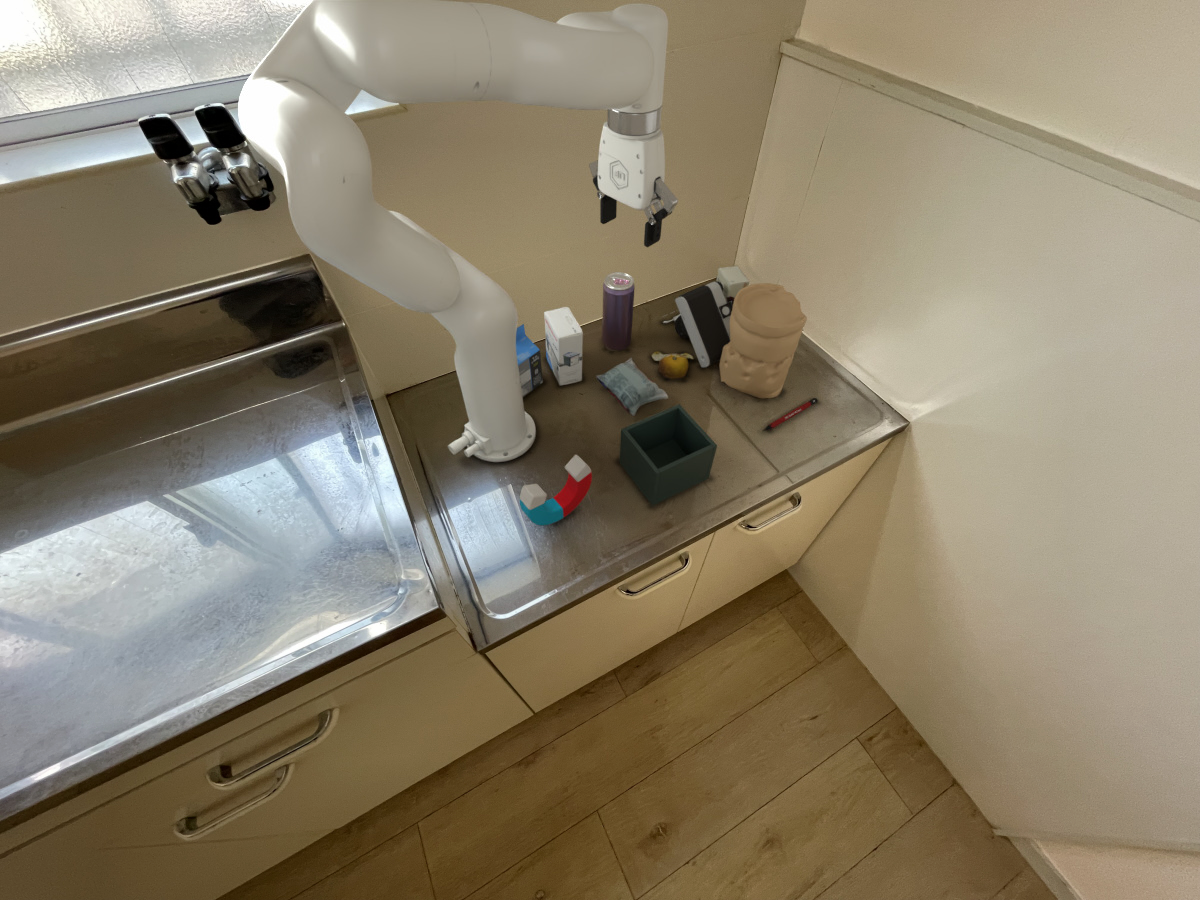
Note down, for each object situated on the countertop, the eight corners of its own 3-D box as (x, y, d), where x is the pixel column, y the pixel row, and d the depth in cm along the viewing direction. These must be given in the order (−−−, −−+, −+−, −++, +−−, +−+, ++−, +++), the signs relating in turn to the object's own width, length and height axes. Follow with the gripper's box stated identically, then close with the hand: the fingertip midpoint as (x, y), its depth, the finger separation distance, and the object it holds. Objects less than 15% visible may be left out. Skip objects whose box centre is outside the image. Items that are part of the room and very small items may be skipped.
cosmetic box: (738, 332, 120) (751, 282, 110) (719, 335, 119) (730, 285, 109) (727, 314, 124) (738, 264, 114) (708, 317, 123) (718, 267, 113)
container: (762, 354, 115) (785, 277, 101) (794, 396, 108) (823, 319, 94) (705, 367, 113) (721, 290, 99) (734, 411, 105) (756, 334, 91)
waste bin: (652, 506, 92) (656, 473, 85) (619, 462, 97) (620, 428, 91) (708, 478, 95) (717, 445, 89) (673, 437, 101) (679, 403, 94)
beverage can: (628, 354, 115) (632, 291, 103) (599, 350, 116) (600, 287, 104) (633, 336, 119) (637, 273, 107) (605, 332, 120) (606, 269, 108)
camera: (684, 370, 119) (721, 352, 122) (713, 365, 109) (752, 345, 112) (658, 304, 116) (697, 287, 119) (685, 293, 106) (726, 274, 109)
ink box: (545, 359, 114) (542, 310, 105) (569, 353, 115) (567, 304, 106) (560, 387, 109) (557, 338, 100) (584, 380, 110) (583, 332, 101)
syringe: (660, 326, 122) (666, 326, 120) (658, 317, 121) (664, 317, 119) (694, 311, 126) (701, 311, 124) (693, 302, 125) (699, 302, 123)
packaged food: (631, 368, 112) (632, 349, 109) (667, 404, 106) (670, 385, 102) (594, 385, 109) (594, 366, 106) (629, 423, 103) (631, 404, 99)
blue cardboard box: (510, 407, 105) (502, 357, 96) (496, 398, 107) (486, 347, 97) (543, 382, 110) (539, 331, 100) (529, 373, 111) (523, 322, 102)
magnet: (533, 538, 88) (527, 501, 80) (523, 526, 89) (516, 489, 81) (592, 499, 92) (592, 461, 85) (582, 488, 94) (581, 450, 86)
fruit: (692, 354, 115) (694, 340, 112) (694, 382, 110) (697, 368, 107) (651, 353, 115) (652, 339, 113) (652, 381, 110) (653, 367, 107)
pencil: (760, 431, 102) (761, 428, 101) (813, 400, 107) (814, 396, 106) (763, 434, 101) (765, 431, 101) (816, 403, 107) (818, 399, 106)
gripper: (572, 107, 81) (576, 220, 94) (663, 145, 73) (654, 262, 86) (609, 93, 84) (608, 204, 98) (700, 128, 76) (685, 243, 90)
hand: (629, 231), depth 92 cm, fingers open, 9 cm apart
